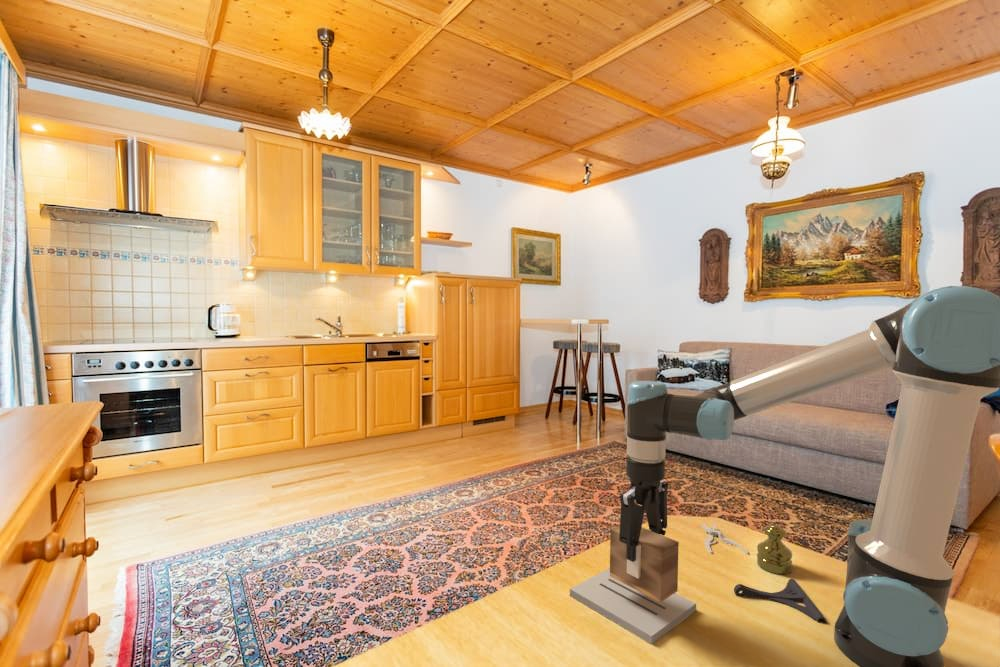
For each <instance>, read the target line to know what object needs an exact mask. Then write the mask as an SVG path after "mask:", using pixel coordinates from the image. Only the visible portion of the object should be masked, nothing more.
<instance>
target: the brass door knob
mask: <svg viewBox="0 0 1000 667" xmlns="http://www.w3.org/2000/svg"><path fill="white" fill-rule="evenodd" d="M762 531H763V533H765V534H766V535H767V537H768V538H767V539H765V540H764V541H760V542H759V543H758V544H757V546H756V548H757V554H756V557H757V559H756V564H757V565H758V567H760V568H761V569H762V570H764V571H767V572H768V571H769V573H771V572H772V573H771V574H775V573H776V575H787V574H790V573H791V572H792V570H793V569H792V568H793V561H792V558H793V551H792V550H791V549H790V548H789V547H788V546H786V544H785V543H783V541H782V539H783V538H785V537H786V536H787V535H788V531H786V529H783V527H780V526H778V525H777V524H771V525H769V524H768V525H765V526H764V527H763V528H762Z"/></svg>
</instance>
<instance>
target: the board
mask: <svg viewBox="0 0 1000 667" xmlns="http://www.w3.org/2000/svg"><path fill="white" fill-rule="evenodd" d="M569 596H570V597H571V596H572V597H571V598H573V599H575V600H577V602H580V603H582V605H585V606H586V607H588V608H589V609H592V610H594V611H595V612H597V613H598V614H600V615H602V616H603V617H605V618H606V619H608V620H609V621H612V622H614V623H615V624H616V625H618V626H620V627H621V628H623V629H624V630H627V631H629V632H630V633H632V634H633V635H635V636H637V637H638V638H640V639H642V640H643V641H645V642H647V643H649V644H650V645H652V644H653V645H654V643H655V642H657V641H658V640H659V639H660V638H662V637H663V636H664V635H666V634H667V633H668V632H670V631H671V630H672V629H673V628H675V627H677V626H678V625H679V624H681V623H682V622H683V621H685V620H686V619H687V618H688V617H690V616H691V615H693V614H694V613H695V612H696V611H697V602H694V601H692V600H690V599H687V598H686V597H684V596H683V595H679V594H677V592H676V593H674V594H673V595H671V596H670V597H668V598H667V599H665V600H664V601H662V602H659V601H657V600H655V599H653V598H651V597H649V596H647V595H645V594H643V593H641V592H640V591H638V590H636V589H634V588H632V587H630V586H628V585H626V584H624V583H622V582H620V581H618V580H616V579H615V578H613V577H611V576H610V567H609V568H606V569H605V570H603V571H601V572H599V573H597V574H595V575H594V576H591V577H589V578H588V579H586V580H584V581H582V582H580V583H578V584H576V585H574V586H572V587H571V588H569Z"/></svg>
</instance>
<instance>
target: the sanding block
mask: <svg viewBox="0 0 1000 667" xmlns="http://www.w3.org/2000/svg"><path fill="white" fill-rule="evenodd" d="M619 533H620V524H619V525H617V526H614V527H613V528H611V529H610V534H609V535H610V540H609V541H610V543H609V568H610V576H611V577H613V578H615V579H616V580H618V581H620V582H622V583H624V584H626V585H628V586H630V587H632V588H634V589H636V590H638V591H640V592H641V593H643V594H645V595H647V596H649V597H651V598H653V599H655V600H657V601H659V602H662V601H664V600H665V599H667V598H668V597H670V596H671V595H673V594H674V593H676V594H677V592H678V588H679V586H678V583H679V581H678V580H679V577H678V576H679V546H680V545H679V544H680V543H679V541H677V540H675V539H672V538H669V537H668V536H665V535H661V534H657V533H655V532H652V531H651V530H649V529H647V528H645V527H643V526H642V527H641V532H640V537H639V542H638V544H639V545H641V568H640V578H636V577H634V576H632V575H630V574H628V573H627V558H626V550H627V545H626V544H625V543H622V542H620V541H619ZM633 539H634V538H633Z"/></svg>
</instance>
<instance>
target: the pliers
mask: <svg viewBox="0 0 1000 667" xmlns="http://www.w3.org/2000/svg"><path fill="white" fill-rule="evenodd" d="M702 528H703V529H702ZM701 529H702V531H704V532H705V533H706V534H707V535H708V536H707V537H706V538H705V539H704V541H703V542H704V547H705V549H706V550H707V551H708V553H709V554H714V553H713V551H712V549H711V546H712V545H713V546H714V545H716V544H717V543H716V542H718V540H715V541H714V536H716V537H718V539H720V542H721V543H723V542H724V543H723V544H725V543H726V545H728V544H731V545H730V546H733V545H735V546H734V547H736V546H737V548H738V547H739V548H741V549H742V550H743V551H744V552H745V553H744V552H743V551H742V550H741V549H740V550H741V551H742V552H743V553H744V554H745V555H747V554H750V553H749V551H748V550H747V548H746V547H744V546H743V545H742V544H740V543H739V542H737V541H735V540H733V539H730V538H727V537H726V536H725V535H724V534H723V532H721V531H720V530H719V529H718V528H717V527H716V525H715V524H711V527H709V526H707V525H706V524H705V523H702V524H701ZM721 539H722V540H721ZM723 540H724V541H723ZM726 541H727V542H726ZM729 542H730V543H729ZM715 543H716V544H715ZM739 548H738V549H739Z"/></svg>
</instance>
